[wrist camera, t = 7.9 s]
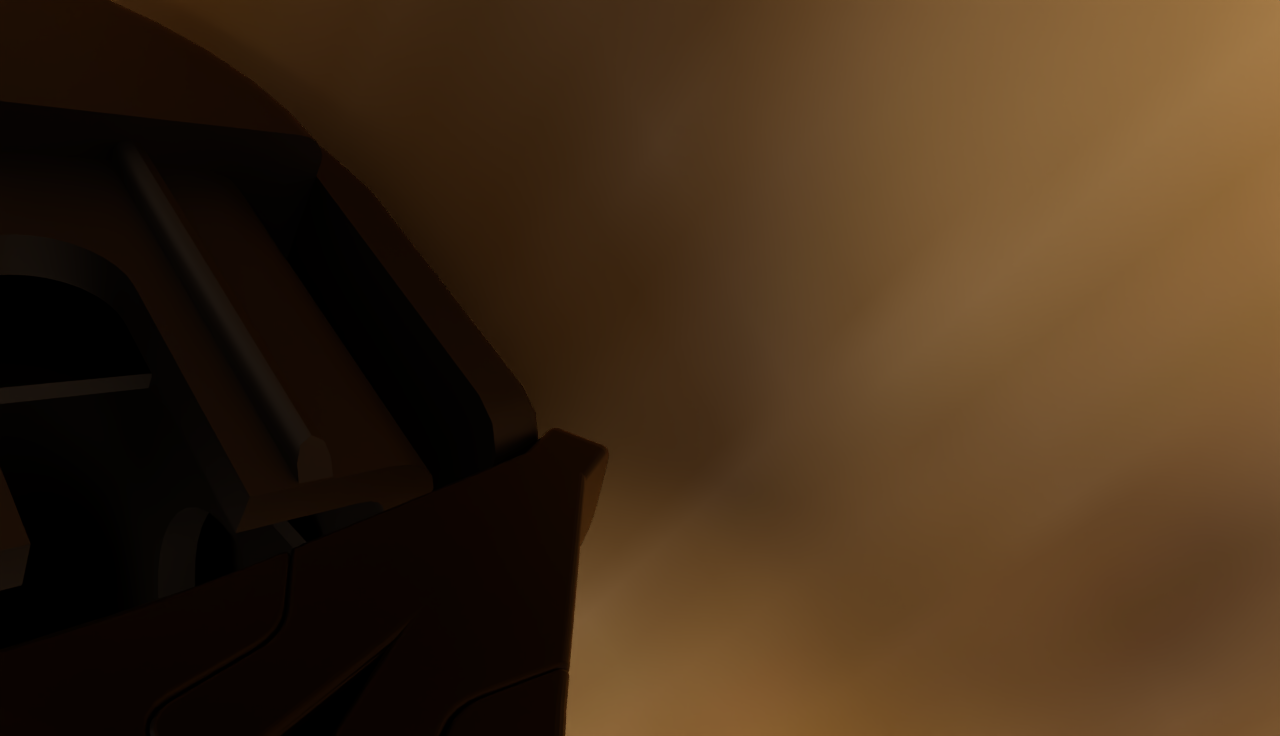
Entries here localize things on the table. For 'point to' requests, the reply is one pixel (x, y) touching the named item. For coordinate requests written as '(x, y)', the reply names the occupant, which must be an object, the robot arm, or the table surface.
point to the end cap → (201, 328)
